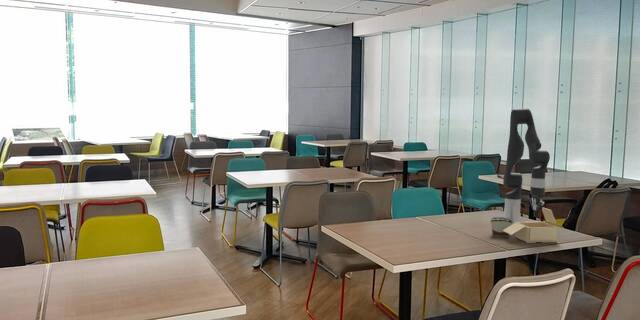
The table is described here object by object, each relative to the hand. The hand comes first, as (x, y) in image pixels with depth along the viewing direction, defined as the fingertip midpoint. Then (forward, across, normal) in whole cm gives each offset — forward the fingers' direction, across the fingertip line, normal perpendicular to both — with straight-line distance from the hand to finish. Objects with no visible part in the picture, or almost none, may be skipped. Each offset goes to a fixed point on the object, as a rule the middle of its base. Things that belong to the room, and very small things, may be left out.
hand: (536, 216), depth 292 cm
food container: (+13, -12, -15) cm, 23 cm away
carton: (+13, 0, 0) cm, 13 cm away
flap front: (+4, 0, -9) cm, 10 cm away
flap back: (+4, 0, +10) cm, 10 cm away
